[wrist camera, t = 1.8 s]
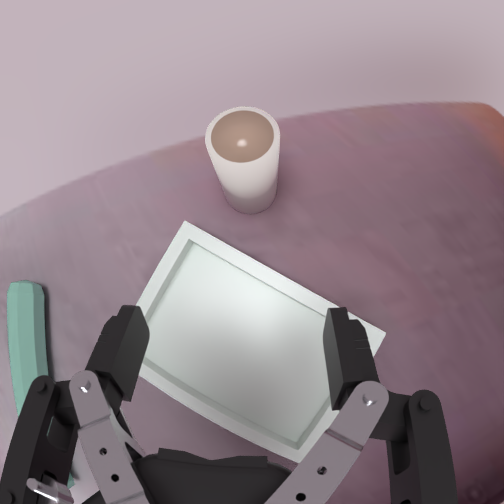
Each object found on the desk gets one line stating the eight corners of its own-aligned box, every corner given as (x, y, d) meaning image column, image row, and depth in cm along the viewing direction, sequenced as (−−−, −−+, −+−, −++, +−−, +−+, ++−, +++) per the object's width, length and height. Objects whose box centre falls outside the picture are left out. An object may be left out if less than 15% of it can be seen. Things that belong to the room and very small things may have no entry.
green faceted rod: (-5, 275, 23) (26, 488, 18) (39, 277, 25) (70, 495, 20) (15, 281, 28) (39, 468, 24) (55, 283, 30) (78, 474, 26)
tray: (122, 350, 27) (110, 354, 25) (191, 227, 29) (184, 220, 26) (299, 453, 24) (302, 464, 22) (376, 331, 26) (386, 332, 24)
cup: (215, 199, 29) (190, 149, 19) (241, 158, 30) (230, 97, 20) (260, 223, 29) (256, 180, 19) (285, 180, 29) (292, 123, 19)
